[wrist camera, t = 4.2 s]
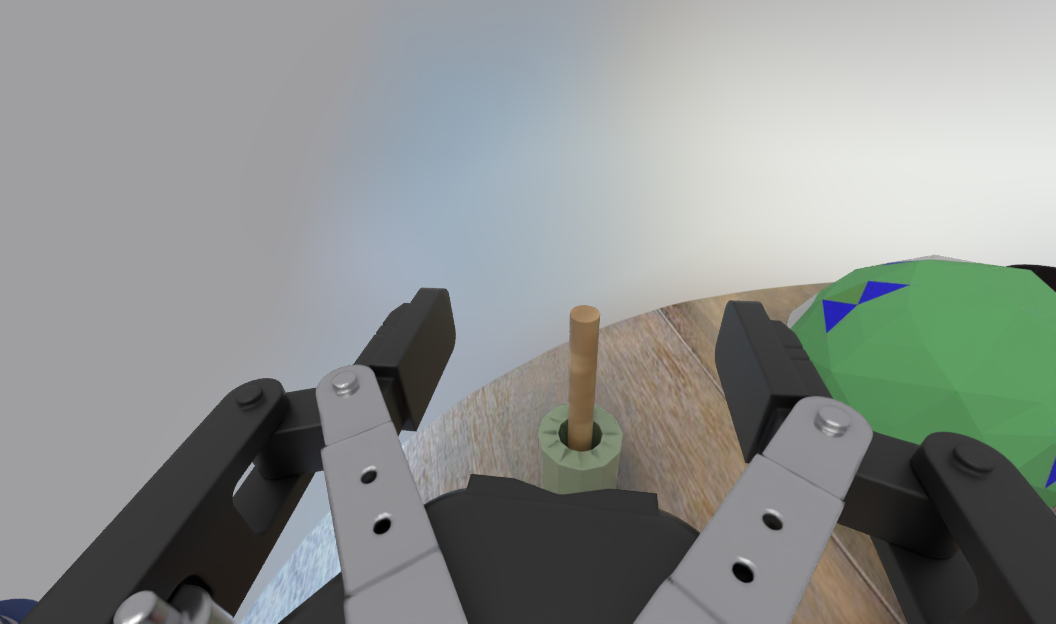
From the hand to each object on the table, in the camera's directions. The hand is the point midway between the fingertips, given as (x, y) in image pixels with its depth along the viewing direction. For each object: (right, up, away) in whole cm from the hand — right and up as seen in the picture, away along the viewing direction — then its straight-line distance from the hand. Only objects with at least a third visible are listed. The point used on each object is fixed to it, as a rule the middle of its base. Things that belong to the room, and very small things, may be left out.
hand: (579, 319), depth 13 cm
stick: (+3, -15, +24) cm, 28 cm away
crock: (+3, -15, +24) cm, 29 cm away
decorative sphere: (+29, -13, +26) cm, 41 cm away
